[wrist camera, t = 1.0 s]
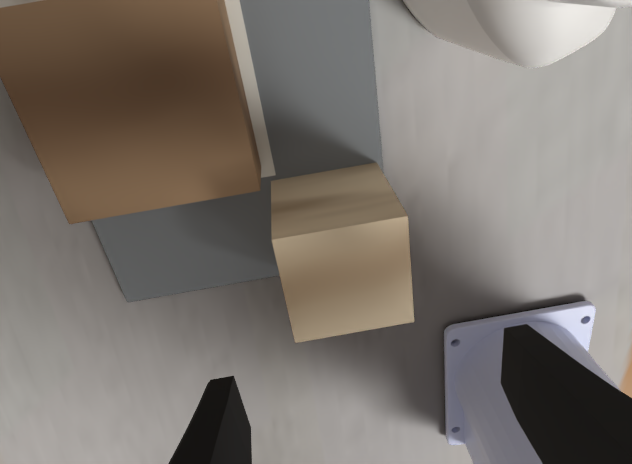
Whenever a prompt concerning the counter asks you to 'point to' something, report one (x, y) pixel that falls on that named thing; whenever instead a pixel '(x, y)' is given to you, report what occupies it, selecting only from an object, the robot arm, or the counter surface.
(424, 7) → the eye dropper bottle
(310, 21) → the slate mat
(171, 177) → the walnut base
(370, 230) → the beech block
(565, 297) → the counter surface
